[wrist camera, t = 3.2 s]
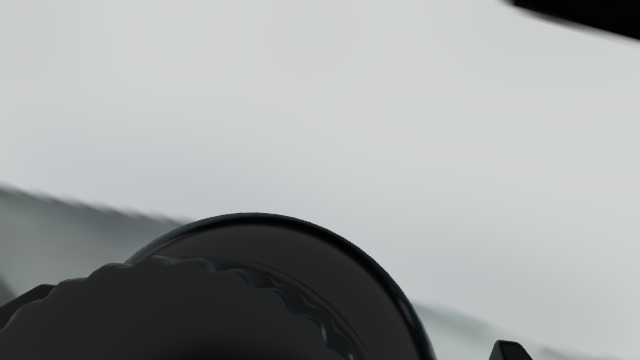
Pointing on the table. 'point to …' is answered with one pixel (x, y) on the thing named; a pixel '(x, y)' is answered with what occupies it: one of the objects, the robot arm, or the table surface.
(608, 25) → the table surface
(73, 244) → the table surface
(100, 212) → the table surface
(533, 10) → the table surface
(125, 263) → the supplement bottle
